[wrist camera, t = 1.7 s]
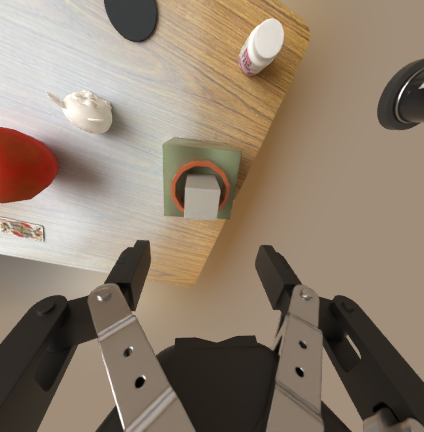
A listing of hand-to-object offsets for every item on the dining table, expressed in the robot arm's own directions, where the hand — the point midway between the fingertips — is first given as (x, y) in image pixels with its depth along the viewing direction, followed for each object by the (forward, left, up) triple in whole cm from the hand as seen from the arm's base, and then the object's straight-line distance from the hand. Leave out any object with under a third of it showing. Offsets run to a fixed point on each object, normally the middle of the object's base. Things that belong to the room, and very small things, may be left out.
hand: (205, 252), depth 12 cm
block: (0, 0, -15) cm, 16 cm away
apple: (+32, +1, -30) cm, 44 cm away
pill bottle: (-8, -19, -30) cm, 36 cm away
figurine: (+20, -8, -30) cm, 37 cm away
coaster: (+12, -23, -30) cm, 39 cm away
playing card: (+42, +19, -30) cm, 55 cm away
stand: (0, 0, -30) cm, 30 cm away
